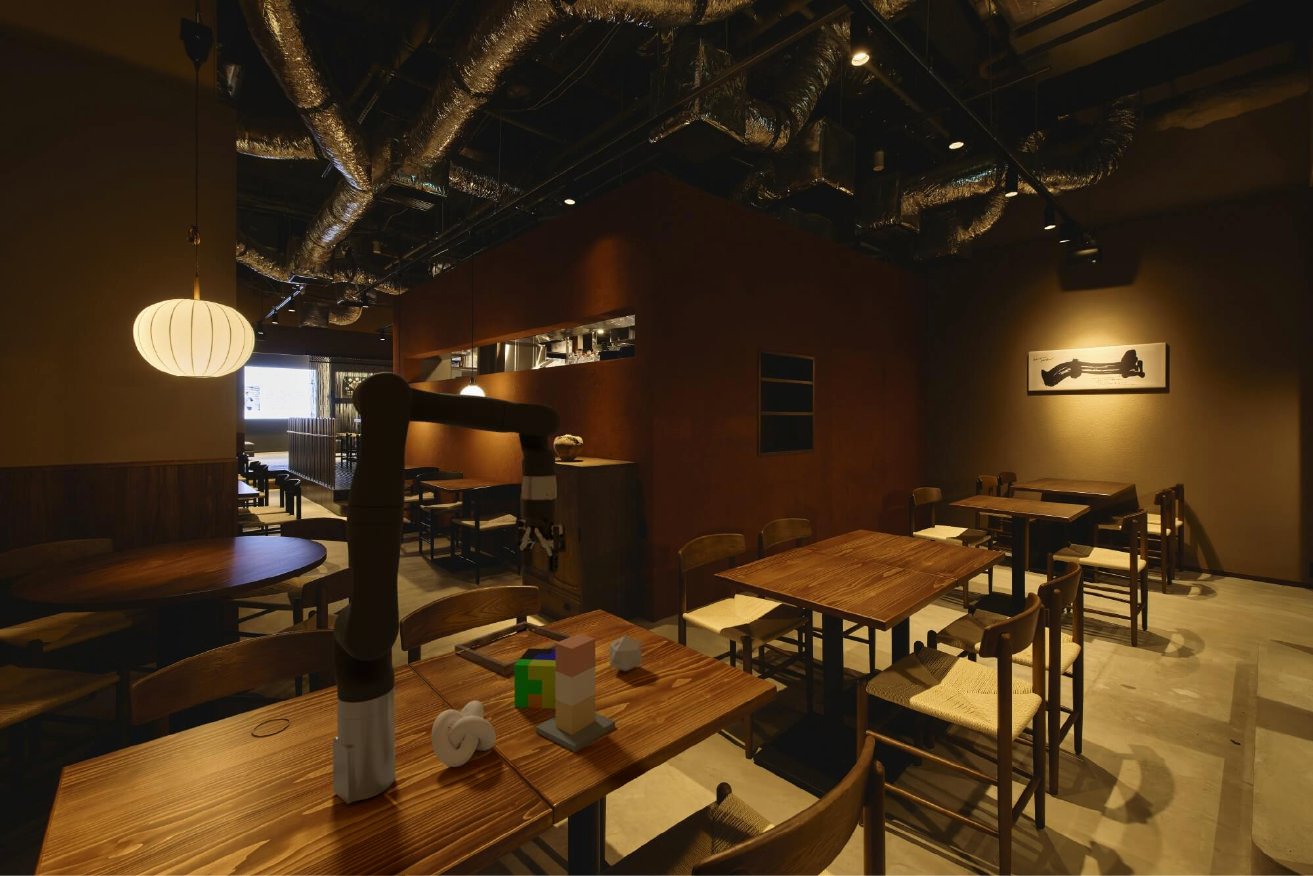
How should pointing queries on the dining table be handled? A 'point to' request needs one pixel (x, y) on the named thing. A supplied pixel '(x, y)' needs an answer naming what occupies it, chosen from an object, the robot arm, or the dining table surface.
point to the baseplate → (579, 737)
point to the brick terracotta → (575, 655)
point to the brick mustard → (575, 715)
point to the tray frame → (488, 661)
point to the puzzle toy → (535, 679)
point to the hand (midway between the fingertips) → (539, 569)
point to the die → (625, 653)
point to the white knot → (461, 734)
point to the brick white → (575, 686)
